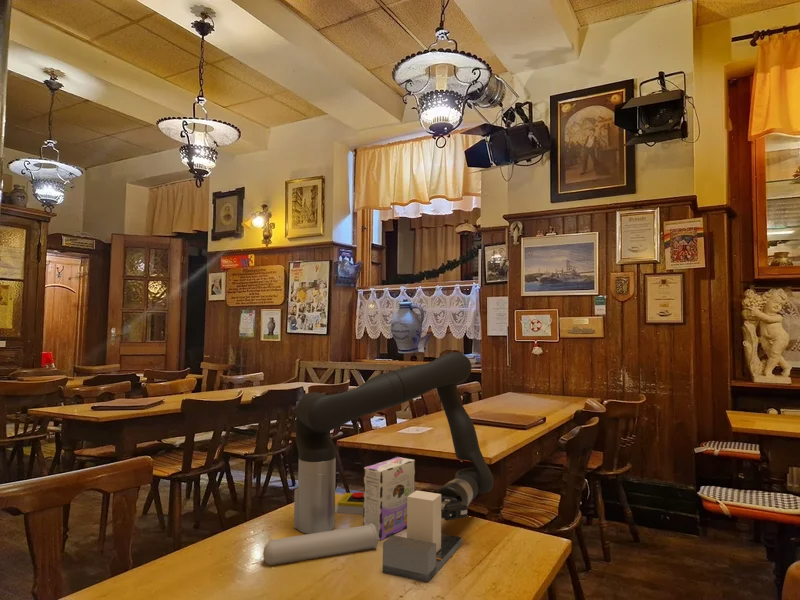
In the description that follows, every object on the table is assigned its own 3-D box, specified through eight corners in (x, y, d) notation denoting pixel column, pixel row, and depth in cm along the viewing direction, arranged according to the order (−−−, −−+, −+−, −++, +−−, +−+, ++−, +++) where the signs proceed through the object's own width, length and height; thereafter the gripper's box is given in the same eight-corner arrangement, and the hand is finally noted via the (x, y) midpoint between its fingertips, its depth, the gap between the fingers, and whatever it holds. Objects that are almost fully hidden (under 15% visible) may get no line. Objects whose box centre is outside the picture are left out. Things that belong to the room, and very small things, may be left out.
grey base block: (382, 572, 112) (382, 542, 112) (422, 536, 131) (422, 511, 131) (427, 582, 107) (428, 551, 108) (461, 544, 126) (462, 517, 127)
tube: (265, 552, 112) (379, 534, 122) (262, 535, 117) (371, 518, 126) (264, 574, 113) (376, 554, 123) (260, 556, 118) (368, 538, 128)
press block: (406, 551, 118) (407, 496, 118) (415, 543, 122) (416, 490, 123) (432, 556, 115) (432, 500, 116) (440, 548, 120) (441, 494, 120)
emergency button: (340, 487, 156) (391, 490, 154) (340, 503, 156) (391, 506, 153) (331, 498, 147) (386, 501, 144) (331, 514, 147) (385, 518, 144)
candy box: (397, 519, 142) (398, 455, 143) (415, 524, 138) (416, 459, 139) (361, 535, 131) (362, 466, 132) (380, 541, 128) (381, 470, 128)
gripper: (429, 478, 140) (401, 498, 124) (479, 485, 134) (456, 506, 118) (429, 508, 139) (401, 531, 124) (479, 516, 134) (456, 541, 118)
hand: (428, 519), depth 121 cm, fingers closed
